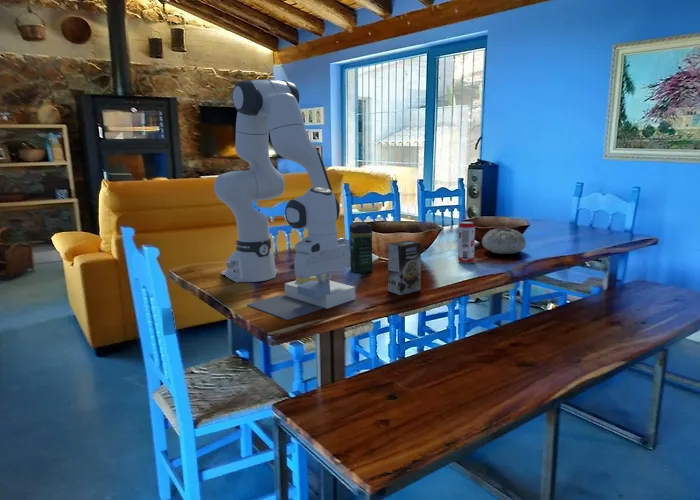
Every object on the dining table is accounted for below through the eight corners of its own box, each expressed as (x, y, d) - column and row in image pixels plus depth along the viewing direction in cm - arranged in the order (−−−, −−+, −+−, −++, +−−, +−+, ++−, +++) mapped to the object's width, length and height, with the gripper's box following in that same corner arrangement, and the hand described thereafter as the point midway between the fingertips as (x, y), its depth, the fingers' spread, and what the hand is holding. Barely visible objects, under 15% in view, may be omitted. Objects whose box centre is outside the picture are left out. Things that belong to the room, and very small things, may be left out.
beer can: (457, 263, 201) (458, 223, 198) (458, 259, 207) (459, 220, 203) (473, 264, 199) (474, 223, 196) (474, 260, 205) (475, 221, 202)
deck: (285, 295, 165) (284, 283, 164) (313, 287, 174) (312, 276, 173) (326, 308, 151) (326, 295, 151) (355, 299, 160) (354, 286, 159)
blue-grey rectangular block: (297, 293, 154) (297, 285, 154) (312, 287, 158) (312, 280, 158) (315, 298, 149) (314, 290, 148) (330, 292, 153) (329, 284, 152)
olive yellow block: (296, 281, 167) (295, 274, 166) (310, 277, 171) (309, 270, 170) (312, 286, 161) (311, 278, 160) (326, 282, 165) (326, 274, 165)
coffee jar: (375, 272, 191) (374, 223, 187) (354, 274, 189) (353, 224, 185) (368, 266, 200) (367, 219, 196) (348, 268, 198) (347, 220, 194)
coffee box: (400, 295, 162) (400, 246, 159) (387, 291, 167) (387, 243, 164) (421, 290, 167) (421, 242, 164) (408, 286, 172) (408, 239, 169)
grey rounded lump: (530, 257, 208) (532, 233, 206) (486, 258, 209) (487, 233, 207) (517, 247, 226) (519, 225, 224) (477, 248, 226) (478, 226, 224)
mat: (246, 305, 156) (246, 304, 156) (280, 295, 165) (280, 294, 165) (287, 320, 143) (287, 319, 142) (322, 308, 151) (322, 307, 151)
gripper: (340, 235, 163) (341, 277, 166) (290, 246, 149) (292, 291, 152) (354, 237, 158) (355, 280, 161) (304, 249, 144) (306, 295, 147)
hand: (324, 286), depth 156 cm, fingers closed
